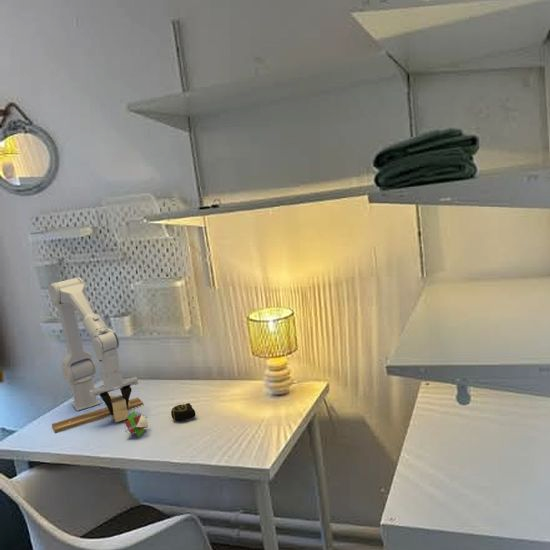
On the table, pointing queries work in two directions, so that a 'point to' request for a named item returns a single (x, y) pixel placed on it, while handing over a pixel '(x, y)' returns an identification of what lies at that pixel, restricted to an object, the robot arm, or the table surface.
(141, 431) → the geometric puzzle
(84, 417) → the brown wooden flat strip
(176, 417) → the tape measure
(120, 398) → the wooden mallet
